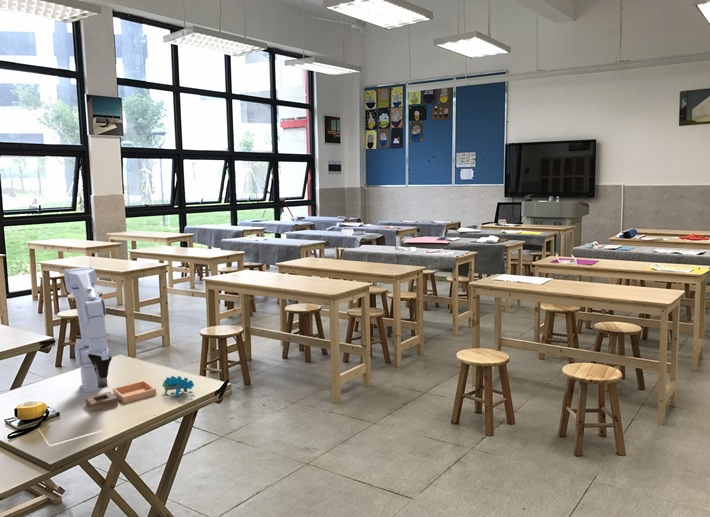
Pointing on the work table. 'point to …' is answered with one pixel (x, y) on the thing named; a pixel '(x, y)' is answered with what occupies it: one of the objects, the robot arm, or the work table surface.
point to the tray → (134, 391)
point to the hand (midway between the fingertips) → (101, 375)
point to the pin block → (101, 401)
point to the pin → (101, 382)
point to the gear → (177, 384)
